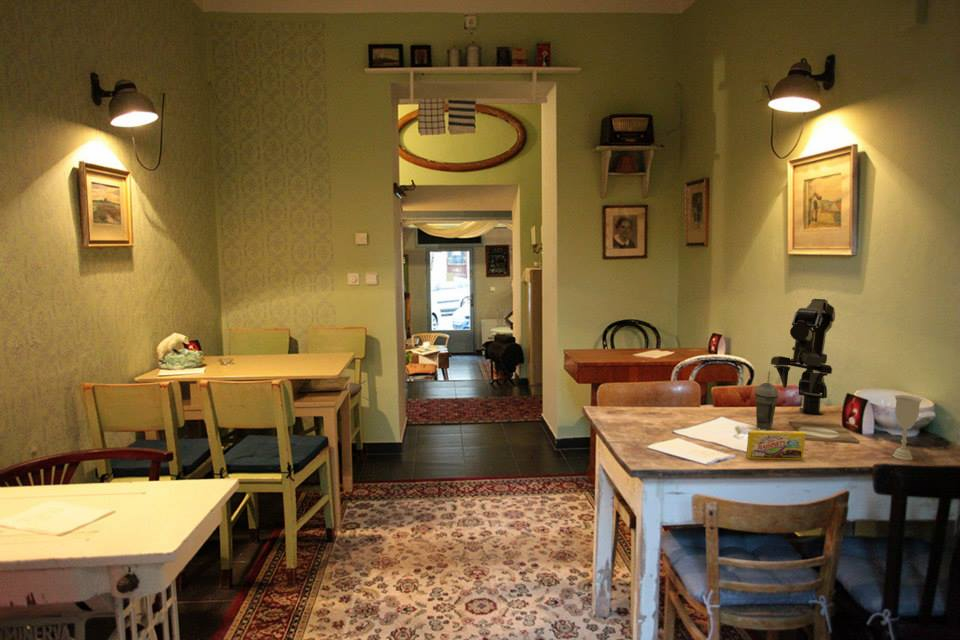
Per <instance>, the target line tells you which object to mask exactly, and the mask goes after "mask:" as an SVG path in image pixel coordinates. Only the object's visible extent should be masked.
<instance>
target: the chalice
mask: <svg viewBox="0 0 960 640" xmlns="http://www.w3.org/2000/svg"><path fill="white" fill-rule="evenodd" d="M894 398H895V401H896V402H895V411H894V414H895V417H896V420H897V422H898V425H899V427H900V428H901V429H902V430H903V432H902V434H901V436H902V438H901V440H900V442H901V446H900V447H898V448H896V449H895V451H894V453H892V457H893V456H894V458H896V459H900V460H905V461H909V460H910V461H911V460H913V456H912V454H911V451H910V450H909V449H907V447H906V444H907V443H908V440H907V438H908V436H909V435H908V430H909V429H912V427H913V425H914V424H915V423H916V421H917V419H918V418H919V415H920V405H921V402H922V401H923V399H922V398H920V397H918V396H914V395H907V394H906V395H905V394H898V395H895V396H894Z"/></svg>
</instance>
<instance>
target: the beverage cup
mask: <svg viewBox="0 0 960 640" xmlns="http://www.w3.org/2000/svg"><path fill="white" fill-rule="evenodd" d="M767 373H768V375H767V381H766V382H763V383H761V384H759V385H758V386H757V387H756V389H755V392H754V397H755V398H754V399H755V405H756V406H755V408H756V411H755V412H756V413H755V414H756V415H755V416H756V428H757V427H758V428H760V429H759V430H762V429H766V430H765V431H772V426H773V422H774V416H775V411H776V406H777V401H778V397H779V393H778V390H777V388H776V387H775V385H773V384H772V383H770V376H771V371H770V370H768V372H767ZM758 428H757V429H758Z"/></svg>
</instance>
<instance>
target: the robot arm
mask: <svg viewBox="0 0 960 640" xmlns="http://www.w3.org/2000/svg"><path fill="white" fill-rule="evenodd" d="M835 319H836V311H835V307H833V306H832V305H831V304H829V301H828V299H824V298H823V299H822V298H813V299H811V303H809V304H808V305H807V306H806V307H800V308H798V309H797V311H795V314H794V316H793V320H792V323H791V325H792V326H791V328H790V330H789V334H790V336H791V337H792V338H793V340H795V341H794V346H792V349H791V350H792V351H793V355H792V358H790V357H786V356H781V355H779V356H778V355H777V356H773V357H772V358H771V359H770V365H773V368H776V371H777V372H778V375H779V378H780V381H781V384H782V387H783V388H784V389H787V386H788V380H789V379H788V378H789V372H790V369H791V367H794V368H800V369H805V370H804V371H803V372H802V373H801V378H800V379H799V381H798V396H802V397H803V398H802V407H799V410H800V411H801V412H802V413H803V414H805V415H806V414H808V415H823V414H824V413H823V412H822V411H821V410H820V409H821V401H822V400H821V399H827V398H828V389H827V388H828V387H827V385H826V382H825V376H826V377H828V375H832V373H833V367H832V366H831V365H830V364H826V363H827V361H828V360H827V359H828V355H827V354H826V353H824V351H825V349H824V348H825V343H826V338H827V337H826V336H827V333H828V332H829V331H830V329H832V327H833V323H834V322H835Z"/></svg>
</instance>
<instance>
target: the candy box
mask: <svg viewBox="0 0 960 640" xmlns="http://www.w3.org/2000/svg"><path fill="white" fill-rule="evenodd" d="M805 434H806V433H804V432H803V431H796V430H793V431H791V430H790V431H789V430H788V431H787V430H748V434H747V445H746V453H745V457H746V458H747V459H748V460H750V459H751V460H752V459H753V460H804V453H805V442H806V440H805Z"/></svg>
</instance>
